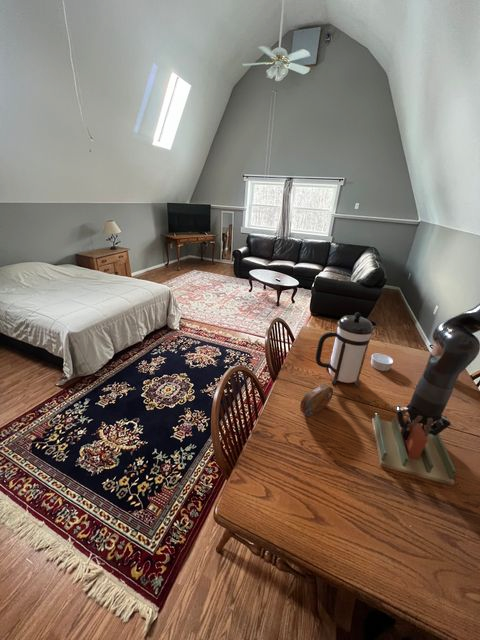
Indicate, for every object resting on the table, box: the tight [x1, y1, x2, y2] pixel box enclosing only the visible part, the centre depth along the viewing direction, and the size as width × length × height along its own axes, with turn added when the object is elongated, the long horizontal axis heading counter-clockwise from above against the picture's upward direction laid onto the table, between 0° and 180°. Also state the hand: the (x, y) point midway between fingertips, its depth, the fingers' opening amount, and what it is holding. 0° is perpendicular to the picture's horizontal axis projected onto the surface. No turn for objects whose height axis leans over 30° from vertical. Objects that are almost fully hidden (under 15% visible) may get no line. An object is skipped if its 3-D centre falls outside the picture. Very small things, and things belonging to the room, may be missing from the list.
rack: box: [371, 412, 457, 487], centre depth 81 cm, size 18×18×4 cm
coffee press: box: [315, 312, 375, 388], centre depth 106 cm, size 17×16×30 cm
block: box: [401, 414, 428, 460], centre depth 79 cm, size 3×9×8 cm, turn 163°
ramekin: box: [370, 352, 394, 372], centre depth 121 cm, size 9×9×4 cm
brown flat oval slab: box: [299, 383, 334, 417], centre depth 94 cm, size 15×3×8 cm, turn 126°
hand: (411, 439), depth 80 cm, fingers open, 3 cm apart
